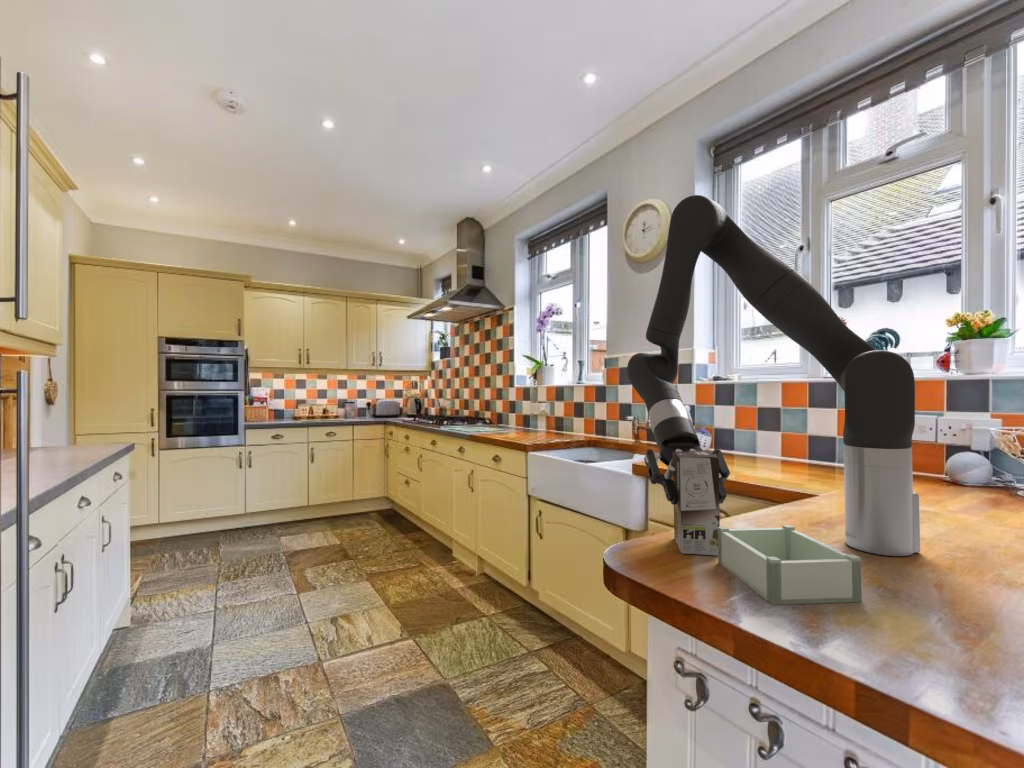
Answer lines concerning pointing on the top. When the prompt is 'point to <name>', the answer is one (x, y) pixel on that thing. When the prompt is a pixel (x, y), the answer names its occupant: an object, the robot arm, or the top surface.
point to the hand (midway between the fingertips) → (698, 501)
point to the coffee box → (696, 502)
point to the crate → (789, 566)
